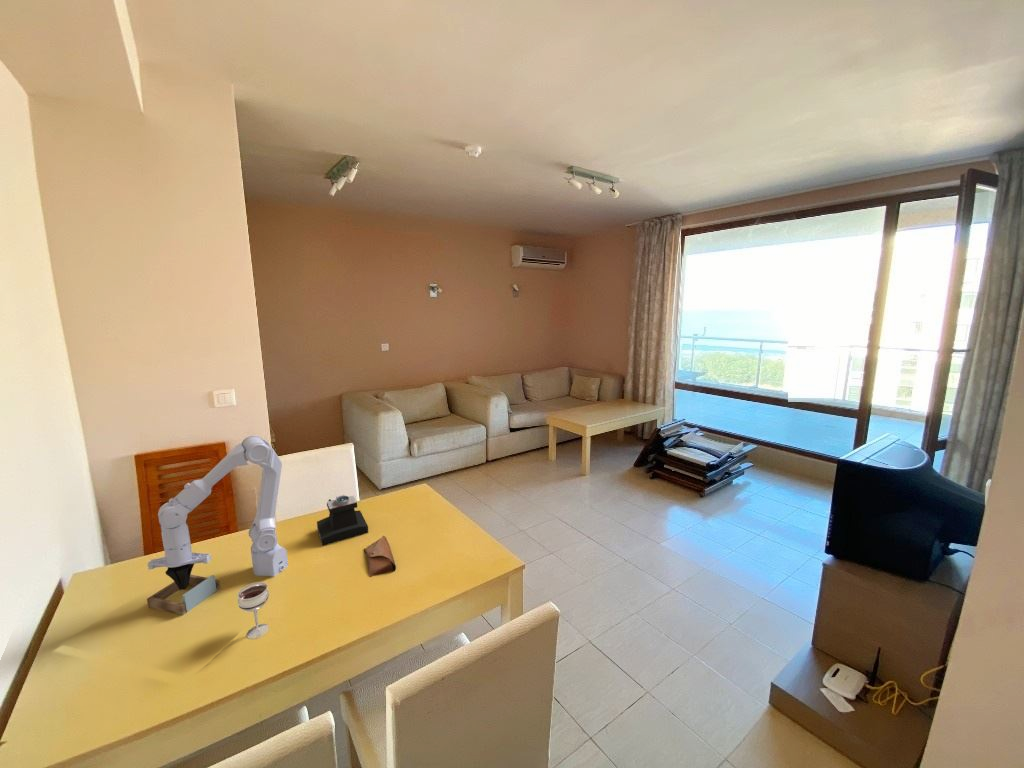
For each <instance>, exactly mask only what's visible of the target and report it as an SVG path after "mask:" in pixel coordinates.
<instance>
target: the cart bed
mask: <svg viewBox="0 0 1024 768" xmlns="http://www.w3.org/2000/svg"><path fill="white" fill-rule="evenodd" d="M207 578H208V577H205V576H201V575H194V574H190V579H189V585H188V586H193V587H195V586H197V585H198V584H200V583H201V582H203V581H204V580H206V579H207ZM215 583H216V589H217V591H218V590H221V585H220V580H219V579H217V578H215ZM178 591H180V590H179V588H178V586H177V584H176V583H175V582H174V581H173V582H171V583H169V584H168V585H167V586H164V587H163V588H162V589H160V590H158V591H157V592H155V593H154V594H152V595H151V596H149V597H148V598H146V601H147V607H148V609H152V610H157V611H162V612H165V613H171V614H176V615H179V616H184V615H185V614H187V612H186V610H185V604H183V602H182V603H181V602H177V601H172V600H167V598H168V597H170V596H171V595H173V594H176V592H178Z"/></svg>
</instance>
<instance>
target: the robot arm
mask: <svg viewBox="0 0 1024 768" xmlns="http://www.w3.org/2000/svg"><path fill="white" fill-rule="evenodd" d="M248 461H249V462H250V463H252V464H255V465H258V466H260V468H262V474H261V480H260V487H259V493H258V501H257V509H256V516H255V517H254V518H253V523H252V525H251V526H250V528H248V529H249V530H248V536H249V538H250V539H251V542H252V544H251V546H250V554H251V563H252V564H251V565H252V569H253V574H254V575H255V576H258V577H262V576H263V577H264V576H265V577H272V578H276V577H277V576H278V575H279V574H280V573H281V572H282V571H283V570H285V569H286V568H287V567H288V566H289V560H288V558H289V557H288V551H287V548H285V547H283V546H281V545H280V544H279V543H278V536H277V533H276V530H277V529H276V528H277V527H276V526H277V525H276V519H275V517H276V510H277V503H278V495H279V487H280V481H281V473H282V466H283V463H282V460H281V459H280V458H279V456H278V454H277V453H276V451H275V450H274V448H273V447H272V446H271V445H270V444H269V443H268V441H266V440H265V439H263V438H262V437H260V436H258V435H249V436H247V437H244V438H243V440H242V441H241V442H240V443H238V444H237V445H235V446H234V447H233V448H232V449H231V450H230V451H229V452H228V453H227V455H225V456H224V457H223V458H222V459H221V460H220V461H219V462H218V463H217V464H216V465H215V466H214V467H213V468H212V469H211V470H210V471H209V472H208V473H207V474H206V475H205V476H203V478H200V479H195V480H193V481H191V482H187V483H186V484H184V485H183V486H184V487H183V488H184V489H182V490H181V491H180V492H179V493H177V495H176V496H174V497H171V498H169V500H168V502H166V503H164V504H163V505H161V506H160V508H159V509H158V511H157V512H158V513H157V516H158V523H159V525H160V530H161V533H160V534H161V539H162V546H163V551H164V557H163V556H162V557H159V558H152V559H151V560H150V561H148V562H147V567H148V571H149V570H154V569H155V568H167V569H166V571H165V575H166V576H168V577H169V578H170V579H172V581H173V582H175V583H176V584H177V586H178V588H179V590H178V591H184V590H186V589H187V588H188V587H189V586H190V585H189V579H190V575H192V574H191V573H192V571H193V568H194V566H195V564H202V563H203V565H204V564H205V565H207V564H209V563H210V561H211V560H212V558H211V557H212V555H211V553H203V552H202V553H201V552H199V553H198V552H193V550H192V544H191V543H192V542H191V537H190V531H189V526H188V524H187V518H188V514H189V513H191V512H192V511H193V510H194V509H196V508H197V507H198V506H199V505H200V504H201V503H202V502H203V501H204V500H205V499H206V498H207V497H209V496H210V495H211V493H212V487H214V486H215V485H216V484H217V483H218V482H219V481H220V480H222V479H223V478H224V477H225V476H226V475H228V474H229V473H230V472H231V471H233V469H235V468H237V467H241V466H242V467H243V466H244V467H245V466H248V465H249V463H248Z"/></svg>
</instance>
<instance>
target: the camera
mask: <svg viewBox="0 0 1024 768" xmlns="http://www.w3.org/2000/svg"><path fill="white" fill-rule="evenodd" d="M326 507H327V509H328V513H329V514H328V516H326V517H324V518H321V519H320V520H317V521H316V527H317V528H316V529H317V533H318V537H319V540H320V542H321V545H322V546H326V545H330V544H335V543H338V542H341V541H344V540H348V539H351V538H354V537H359V536H362V535H364V534H368V533H369V525H368V523H367V521H366V520H365V518H364V515H363V513H362V511H361V510H356V509H357V508H358V502H357V499H356V497H355V495H350V496H348V495H345V494H343V495H339V496H335V499H333V500H332V499H331V498H330V499H328V501H326Z"/></svg>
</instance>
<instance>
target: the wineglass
mask: <svg viewBox="0 0 1024 768" xmlns="http://www.w3.org/2000/svg"><path fill="white" fill-rule="evenodd" d="M268 586H269V585H268V584H267V582H264V581H255V582H253V583H252V582H251V583H249V584H247V585H245V586H244V587H241V588H240V589H239V591H238V592H237V595H236V597H237V598H238V599H237V605H238V608H239V609H240V610H242V611H244V612H247V613H252V612H253V616H254V621H255V626H253V627H251V628H250V629H249V630H248V631H247V632H246V637H247V638H248V639H249V640H254V639H258V638H260V637H262V636H265V634H266V633H267V632H268V631H269V628H270V627H269V625H268V624H266V623H260V624H259V619H258V610H259V609H261V608H262V607H263V606H264V605H265V604H266V603H267V601H268V599H269V596H270V593H269V589H268Z"/></svg>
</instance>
